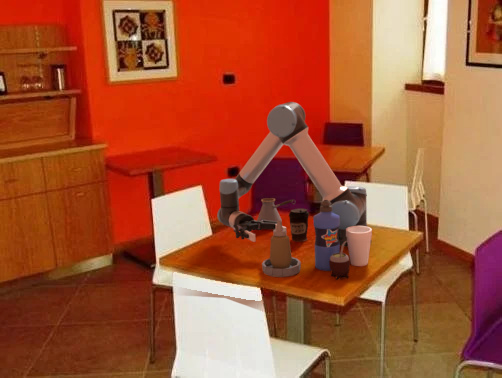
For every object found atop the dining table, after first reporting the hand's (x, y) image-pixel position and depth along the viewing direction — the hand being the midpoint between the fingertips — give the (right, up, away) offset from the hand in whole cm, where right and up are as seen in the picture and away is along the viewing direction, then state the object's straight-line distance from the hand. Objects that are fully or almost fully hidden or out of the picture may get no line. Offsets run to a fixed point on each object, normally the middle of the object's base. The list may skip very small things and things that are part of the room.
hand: (270, 234), depth 223 cm
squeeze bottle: (+4, -12, -3) cm, 13 cm away
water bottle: (+21, -12, -1) cm, 24 cm away
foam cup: (+33, -11, +1) cm, 35 cm away
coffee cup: (+13, -5, +31) cm, 34 cm away
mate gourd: (+24, -14, -12) cm, 31 cm away
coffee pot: (+5, -1, +49) cm, 49 cm away
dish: (+4, -13, -3) cm, 14 cm away
